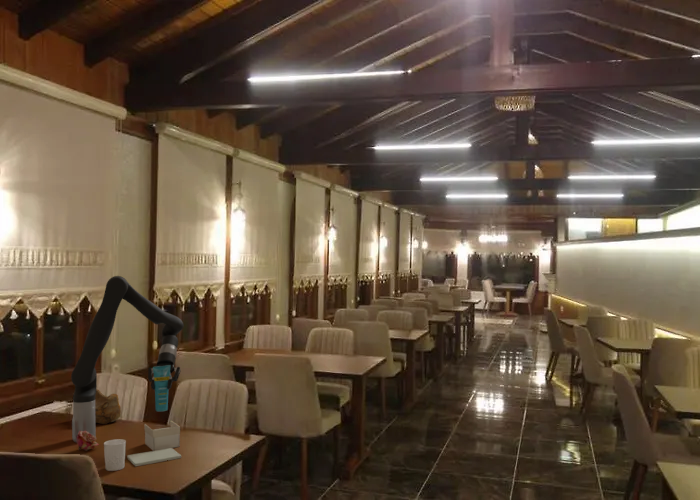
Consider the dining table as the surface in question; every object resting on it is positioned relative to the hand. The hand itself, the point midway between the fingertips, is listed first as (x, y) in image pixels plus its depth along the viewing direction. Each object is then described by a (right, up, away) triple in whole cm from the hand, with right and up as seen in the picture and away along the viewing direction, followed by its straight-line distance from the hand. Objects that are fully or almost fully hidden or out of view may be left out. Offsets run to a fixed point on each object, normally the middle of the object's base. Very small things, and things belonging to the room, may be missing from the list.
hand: (160, 388), depth 271 cm
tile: (+2, -24, -17) cm, 30 cm away
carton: (0, -25, +1) cm, 25 cm away
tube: (0, -10, +2) cm, 10 cm away
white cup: (-9, -24, -29) cm, 39 cm away
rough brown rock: (-46, -26, +43) cm, 68 cm away
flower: (-30, -25, -4) cm, 39 cm away
